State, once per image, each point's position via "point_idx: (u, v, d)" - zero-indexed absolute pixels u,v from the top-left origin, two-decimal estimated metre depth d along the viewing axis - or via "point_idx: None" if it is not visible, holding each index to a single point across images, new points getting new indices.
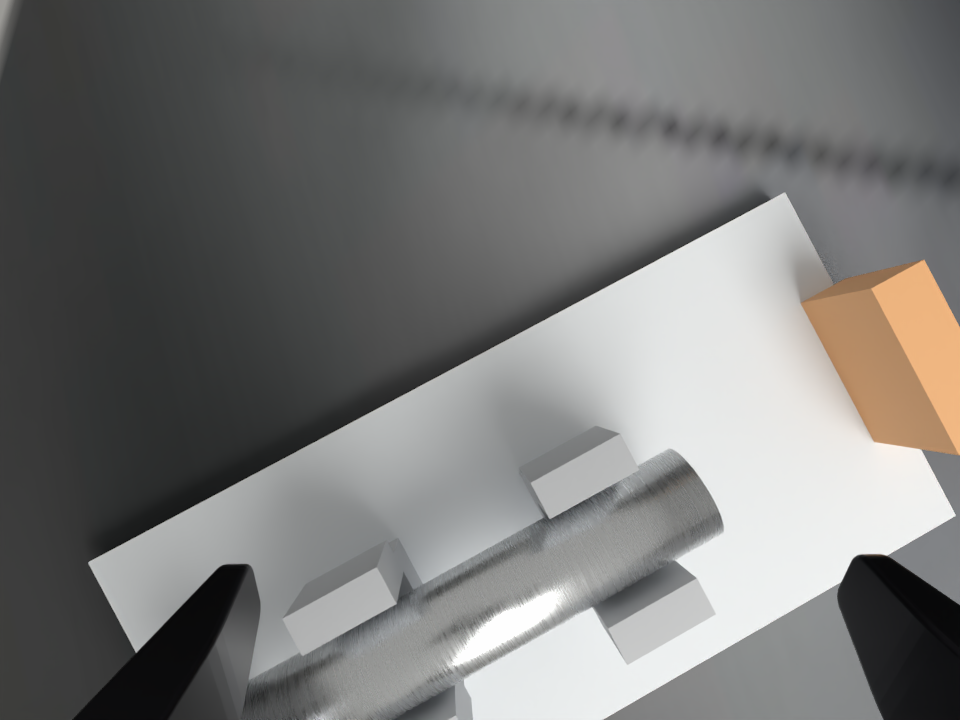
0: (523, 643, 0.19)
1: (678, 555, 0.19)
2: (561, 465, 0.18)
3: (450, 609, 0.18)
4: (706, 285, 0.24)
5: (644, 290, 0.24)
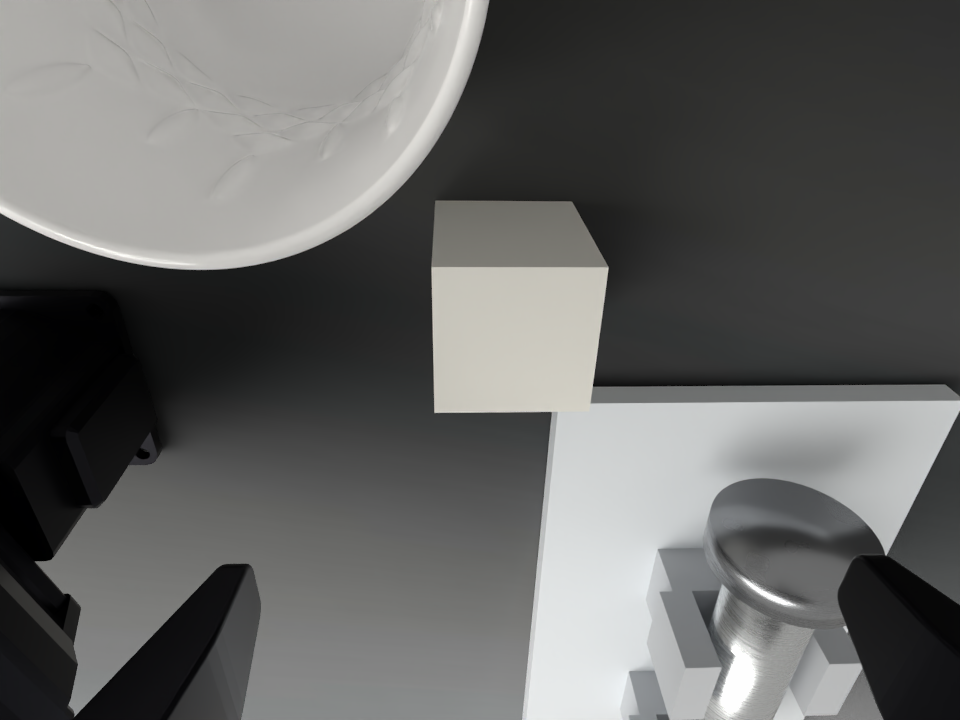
0: None
1: None
2: None
3: None
4: None
5: None
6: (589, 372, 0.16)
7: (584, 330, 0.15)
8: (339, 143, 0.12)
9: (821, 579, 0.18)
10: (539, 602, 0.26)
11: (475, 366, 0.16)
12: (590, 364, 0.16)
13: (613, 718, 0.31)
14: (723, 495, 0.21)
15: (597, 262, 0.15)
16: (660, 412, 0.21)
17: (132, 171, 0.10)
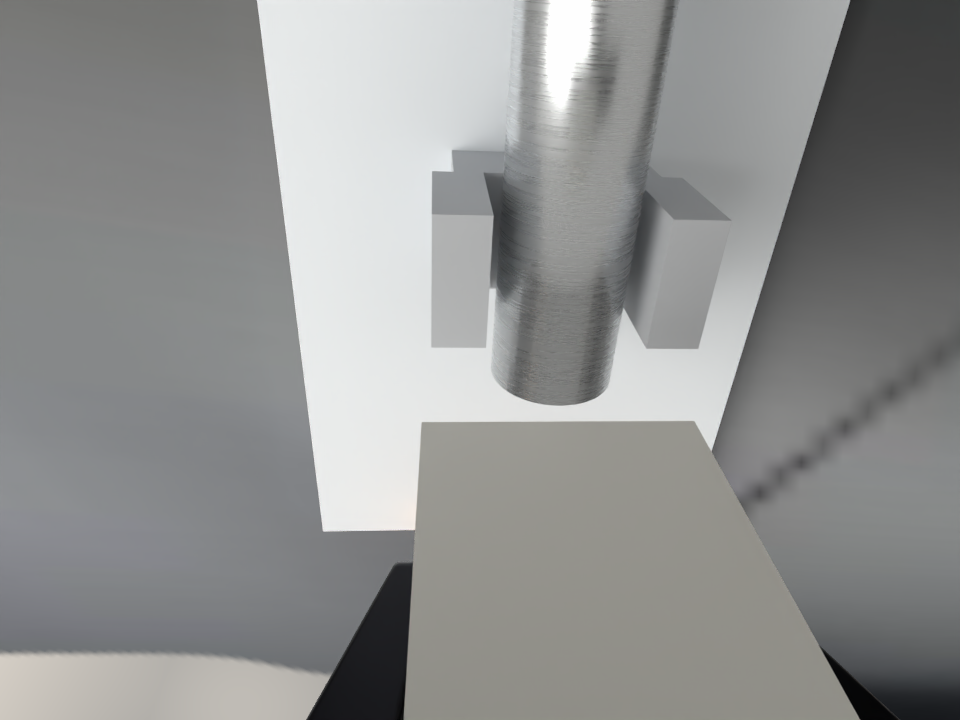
0: (533, 80, 0.11)
1: (513, 334, 0.14)
2: (717, 267, 0.13)
3: None
4: None
5: (709, 384, 0.21)
6: None
7: None
8: None
9: None
10: None
11: None
12: None
13: None
14: None
15: None
16: None
17: None
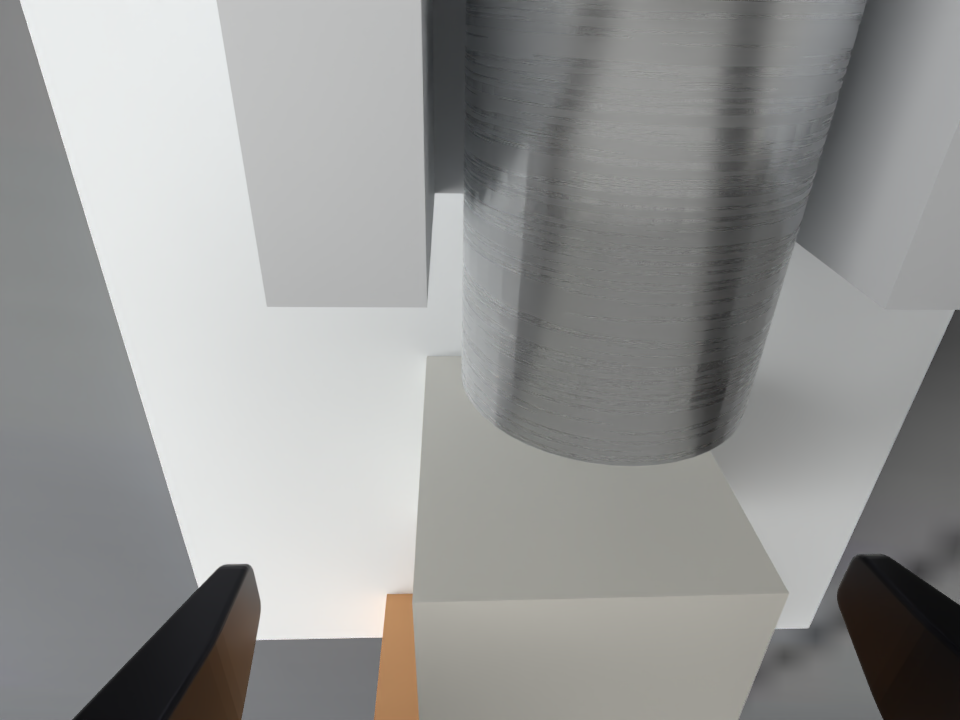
0: None
1: (509, 274, 0.05)
2: None
3: None
4: (790, 490, 0.13)
5: (872, 401, 0.12)
6: None
7: (722, 685, 0.08)
8: None
9: None
10: None
11: None
12: None
13: None
14: None
15: (759, 573, 0.07)
16: None
17: None
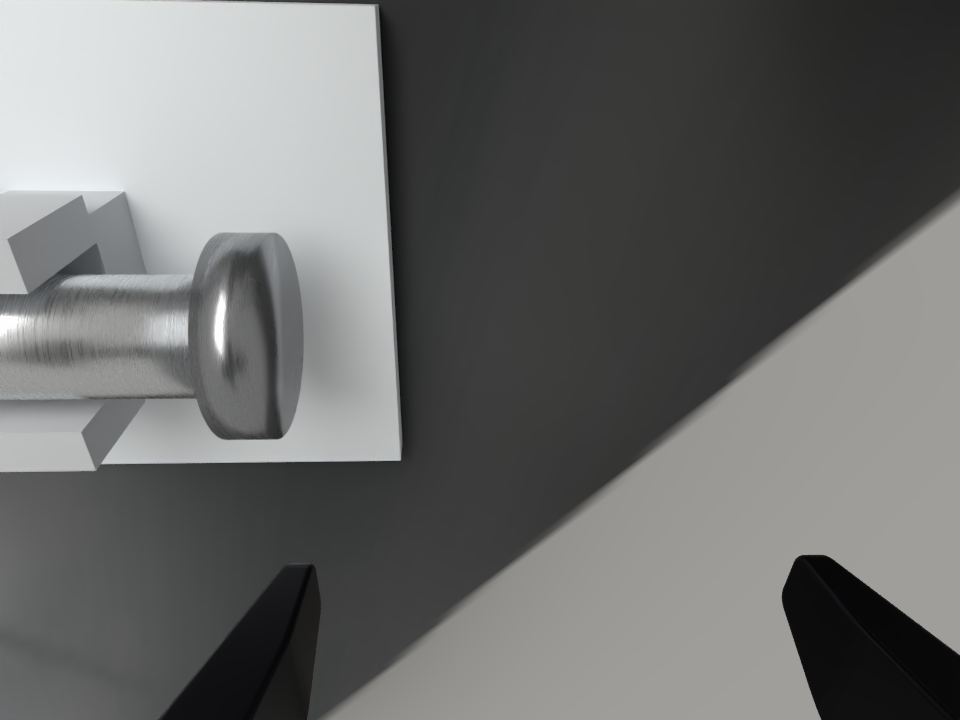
0: None
1: None
2: None
3: None
4: None
5: None
6: None
7: None
8: None
9: (261, 373, 0.14)
10: None
11: None
12: None
13: None
14: (285, 249, 0.16)
15: None
16: (368, 156, 0.17)
17: None
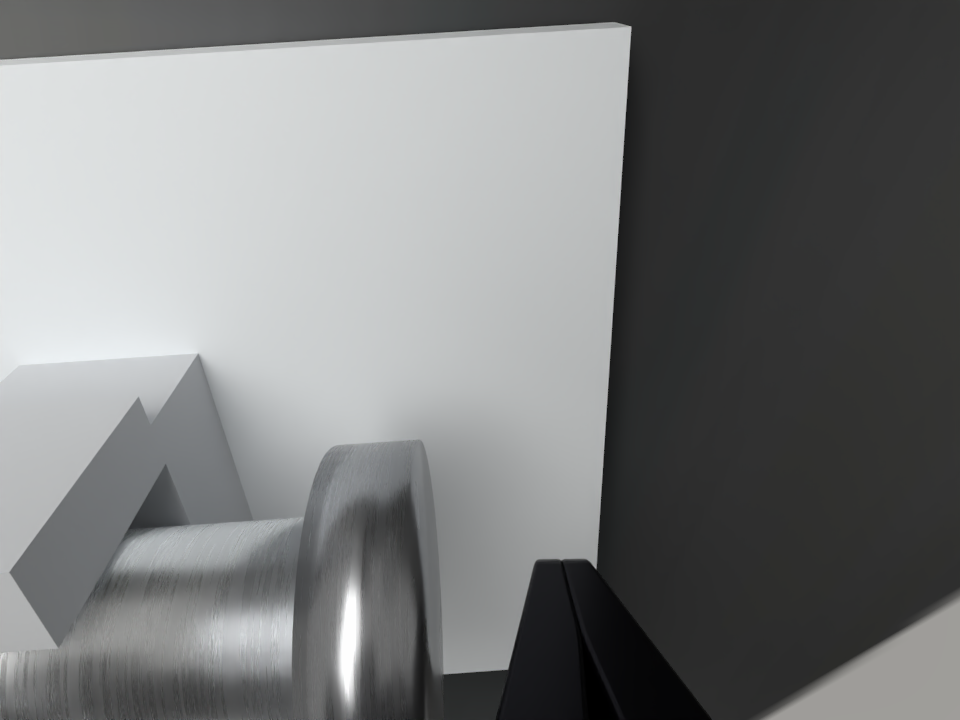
0: None
1: None
2: None
3: None
4: None
5: None
6: None
7: None
8: None
9: None
10: None
11: None
12: None
13: None
14: (421, 452, 0.10)
15: None
16: (591, 272, 0.10)
17: None
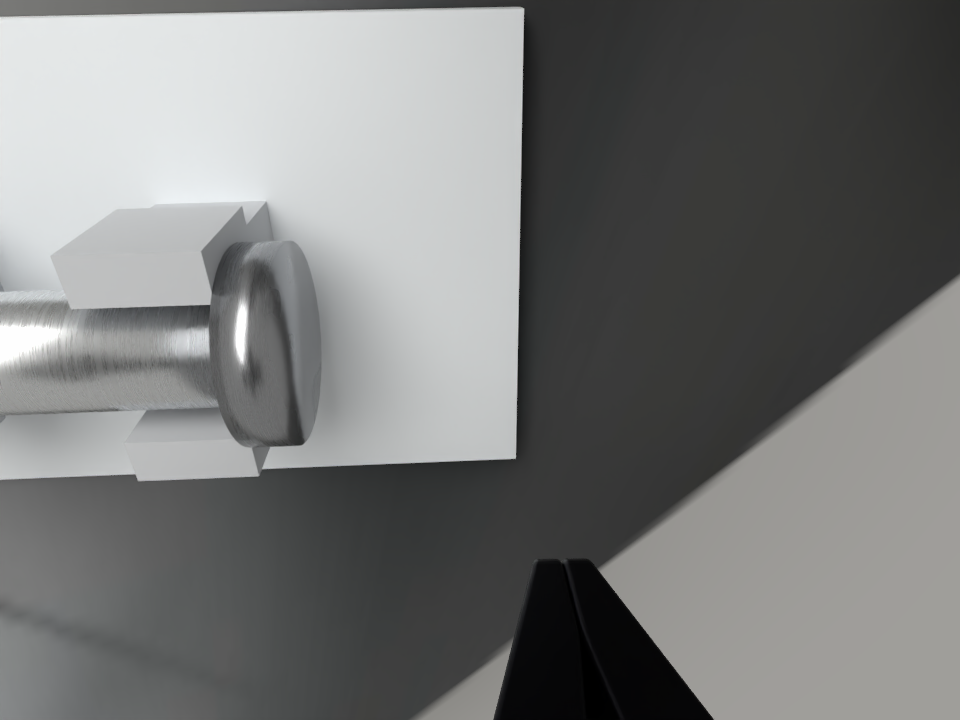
0: None
1: None
2: None
3: None
4: None
5: None
6: None
7: None
8: None
9: (282, 380, 0.14)
10: (100, 19, 0.15)
11: None
12: None
13: None
14: (301, 256, 0.16)
15: None
16: (506, 157, 0.17)
17: None
